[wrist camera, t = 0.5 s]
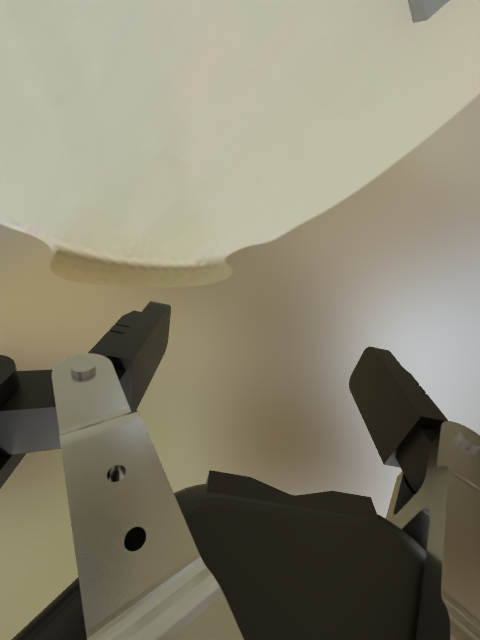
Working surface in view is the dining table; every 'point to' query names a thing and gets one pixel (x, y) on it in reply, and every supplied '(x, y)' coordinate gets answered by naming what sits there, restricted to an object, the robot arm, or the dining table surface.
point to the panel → (424, 8)
